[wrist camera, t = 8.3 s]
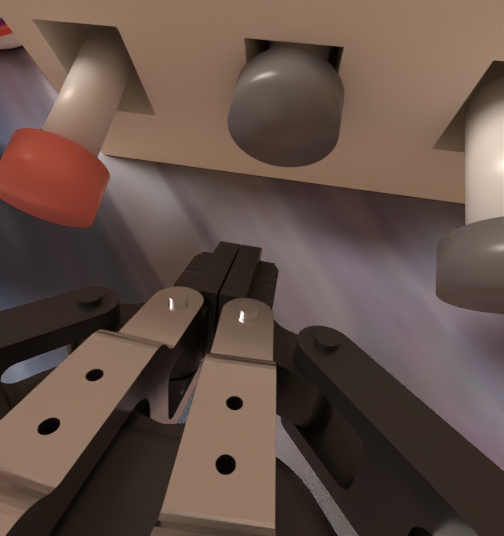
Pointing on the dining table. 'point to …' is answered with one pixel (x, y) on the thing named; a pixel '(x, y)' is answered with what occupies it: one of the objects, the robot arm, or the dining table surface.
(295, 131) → the knob
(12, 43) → the pill bottle
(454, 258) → the knob
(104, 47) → the red knob
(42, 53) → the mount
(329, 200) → the dining table surface
